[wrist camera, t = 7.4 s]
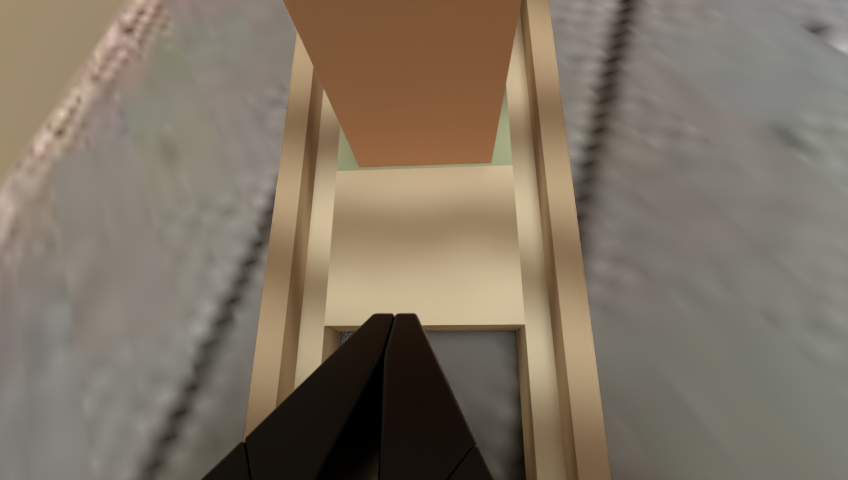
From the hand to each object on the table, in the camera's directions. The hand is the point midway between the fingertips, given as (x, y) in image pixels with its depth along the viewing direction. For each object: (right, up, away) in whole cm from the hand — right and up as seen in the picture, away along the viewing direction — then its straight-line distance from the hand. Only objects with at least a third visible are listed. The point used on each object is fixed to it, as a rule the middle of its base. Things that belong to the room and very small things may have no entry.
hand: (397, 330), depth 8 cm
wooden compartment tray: (+1, +5, +13) cm, 14 cm away
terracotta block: (+1, +8, +11) cm, 14 cm away
